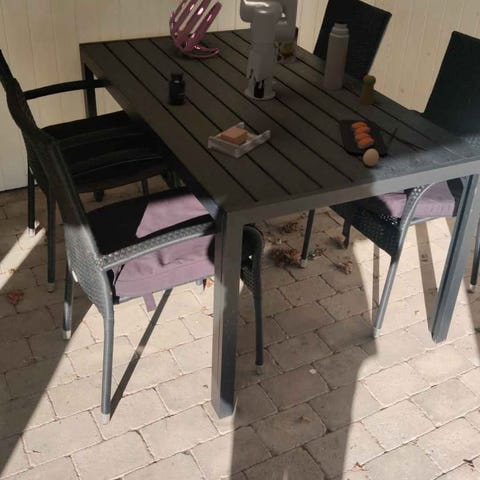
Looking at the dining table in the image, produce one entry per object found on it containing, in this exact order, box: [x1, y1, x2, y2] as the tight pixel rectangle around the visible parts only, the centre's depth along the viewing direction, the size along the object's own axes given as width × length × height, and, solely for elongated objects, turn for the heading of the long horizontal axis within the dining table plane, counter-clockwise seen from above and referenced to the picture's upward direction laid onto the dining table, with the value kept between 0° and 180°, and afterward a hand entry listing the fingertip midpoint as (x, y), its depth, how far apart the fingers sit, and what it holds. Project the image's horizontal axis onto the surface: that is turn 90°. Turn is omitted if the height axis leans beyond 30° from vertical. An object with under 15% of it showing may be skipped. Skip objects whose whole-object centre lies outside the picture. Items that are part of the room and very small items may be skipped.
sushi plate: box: [339, 119, 428, 156], centre depth 239 cm, size 29×30×4 cm
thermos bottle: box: [322, 18, 350, 91], centre depth 277 cm, size 8×8×28 cm
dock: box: [207, 121, 271, 159], centre depth 230 cm, size 20×12×5 cm, turn 146°
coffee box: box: [273, 26, 299, 64], centre depth 306 cm, size 9×6×16 cm
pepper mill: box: [357, 74, 377, 106], centre depth 268 cm, size 6×6×11 cm
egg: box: [363, 149, 380, 167], centre depth 220 cm, size 5×5×6 cm
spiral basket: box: [168, 0, 223, 59], centre depth 305 cm, size 28×28×27 cm
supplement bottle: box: [167, 70, 187, 106], centre depth 256 cm, size 7×7×12 cm
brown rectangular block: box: [220, 126, 249, 145], centre depth 226 cm, size 8×6×4 cm
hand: (258, 97), depth 232 cm, fingers closed
